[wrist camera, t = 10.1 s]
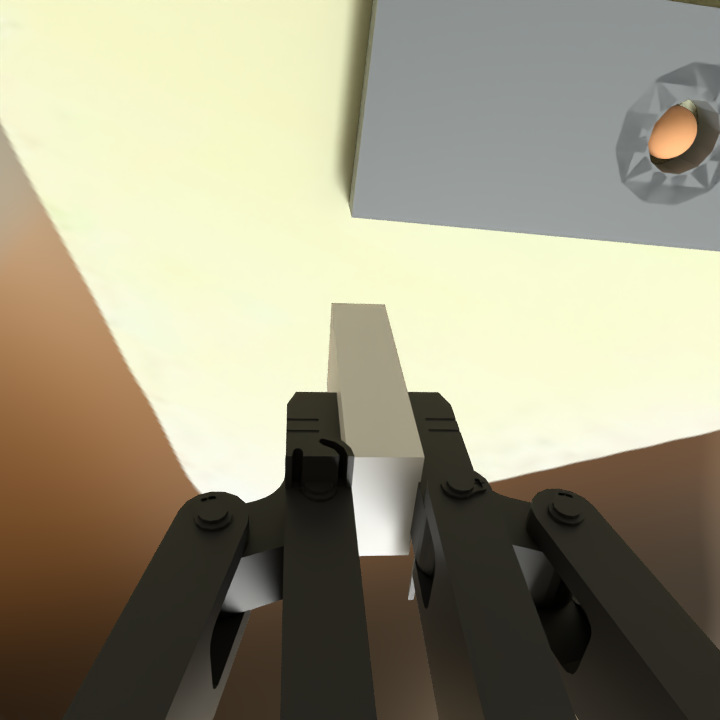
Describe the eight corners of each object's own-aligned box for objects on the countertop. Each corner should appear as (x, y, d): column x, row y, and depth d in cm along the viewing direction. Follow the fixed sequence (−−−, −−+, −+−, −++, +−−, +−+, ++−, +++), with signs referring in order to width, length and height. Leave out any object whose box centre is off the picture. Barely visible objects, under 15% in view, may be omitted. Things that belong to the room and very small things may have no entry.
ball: (680, 89, 38) (701, 104, 40) (628, 112, 40) (651, 125, 42) (687, 139, 37) (709, 152, 39) (635, 160, 40) (657, 170, 42)
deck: (348, 204, 42) (351, 217, 40) (377, -42, 35) (383, -43, 33) (730, 241, 46) (750, 254, 44) (826, 25, 39) (856, 28, 37)
